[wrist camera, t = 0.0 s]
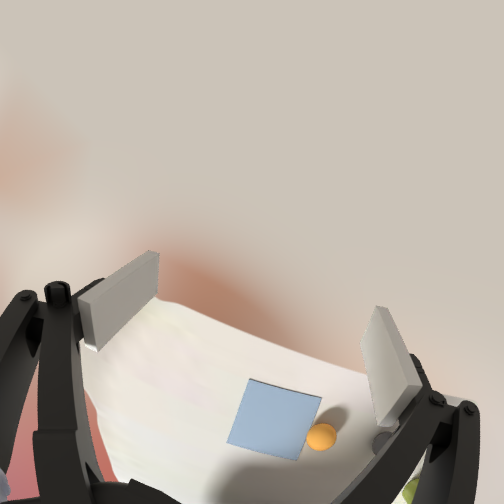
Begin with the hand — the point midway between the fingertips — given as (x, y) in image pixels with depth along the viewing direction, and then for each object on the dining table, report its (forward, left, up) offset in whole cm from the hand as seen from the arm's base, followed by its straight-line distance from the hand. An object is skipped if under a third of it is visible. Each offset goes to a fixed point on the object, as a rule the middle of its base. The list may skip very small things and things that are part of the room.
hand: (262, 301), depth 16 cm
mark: (-19, +2, -36) cm, 41 cm away
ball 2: (-31, -17, -33) cm, 49 cm away
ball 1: (-24, -5, -33) cm, 41 cm away
